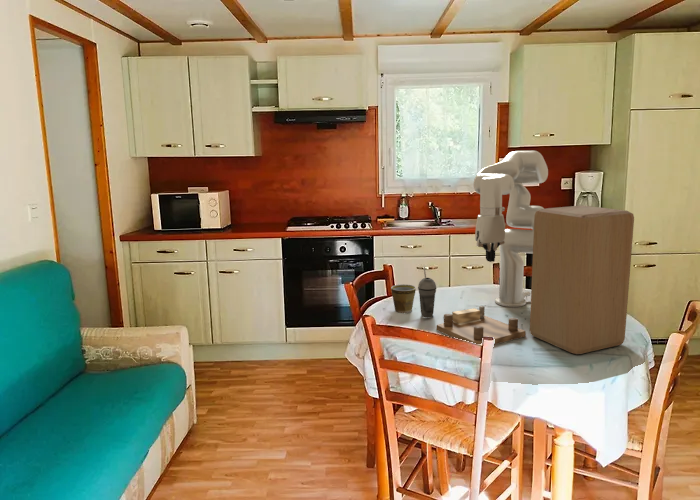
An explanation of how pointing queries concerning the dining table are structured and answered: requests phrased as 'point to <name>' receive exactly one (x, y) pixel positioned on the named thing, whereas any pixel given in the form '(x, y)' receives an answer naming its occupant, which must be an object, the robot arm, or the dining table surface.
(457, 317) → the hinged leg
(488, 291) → the dining table surface
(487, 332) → the board
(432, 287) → the beverage cup
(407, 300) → the ceramic cup
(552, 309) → the wooden block
